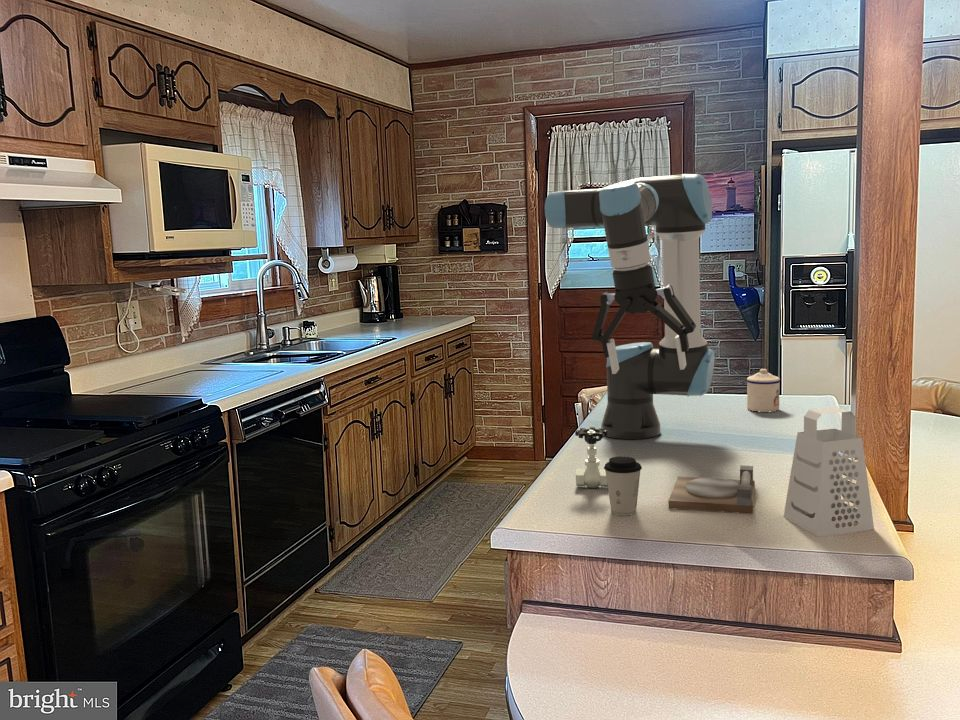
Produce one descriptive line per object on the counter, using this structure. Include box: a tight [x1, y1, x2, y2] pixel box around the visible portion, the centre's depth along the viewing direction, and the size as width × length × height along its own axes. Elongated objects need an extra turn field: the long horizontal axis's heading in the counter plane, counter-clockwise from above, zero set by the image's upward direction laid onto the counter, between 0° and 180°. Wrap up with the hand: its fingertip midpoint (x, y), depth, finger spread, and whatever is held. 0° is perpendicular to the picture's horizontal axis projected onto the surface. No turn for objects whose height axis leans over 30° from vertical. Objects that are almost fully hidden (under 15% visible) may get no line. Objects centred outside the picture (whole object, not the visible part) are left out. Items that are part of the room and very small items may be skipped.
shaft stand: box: [667, 465, 756, 515], centre depth 160 cm, size 16×15×4 cm
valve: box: [574, 426, 608, 489], centre depth 169 cm, size 7×7×12 cm
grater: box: [783, 407, 875, 537], centre depth 143 cm, size 10×10×20 cm
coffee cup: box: [603, 456, 643, 516], centre depth 154 cm, size 7×7×10 cm
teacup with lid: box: [746, 368, 781, 413], centre depth 236 cm, size 12×9×12 cm
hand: (649, 369), depth 163 cm, fingers open, 13 cm apart
